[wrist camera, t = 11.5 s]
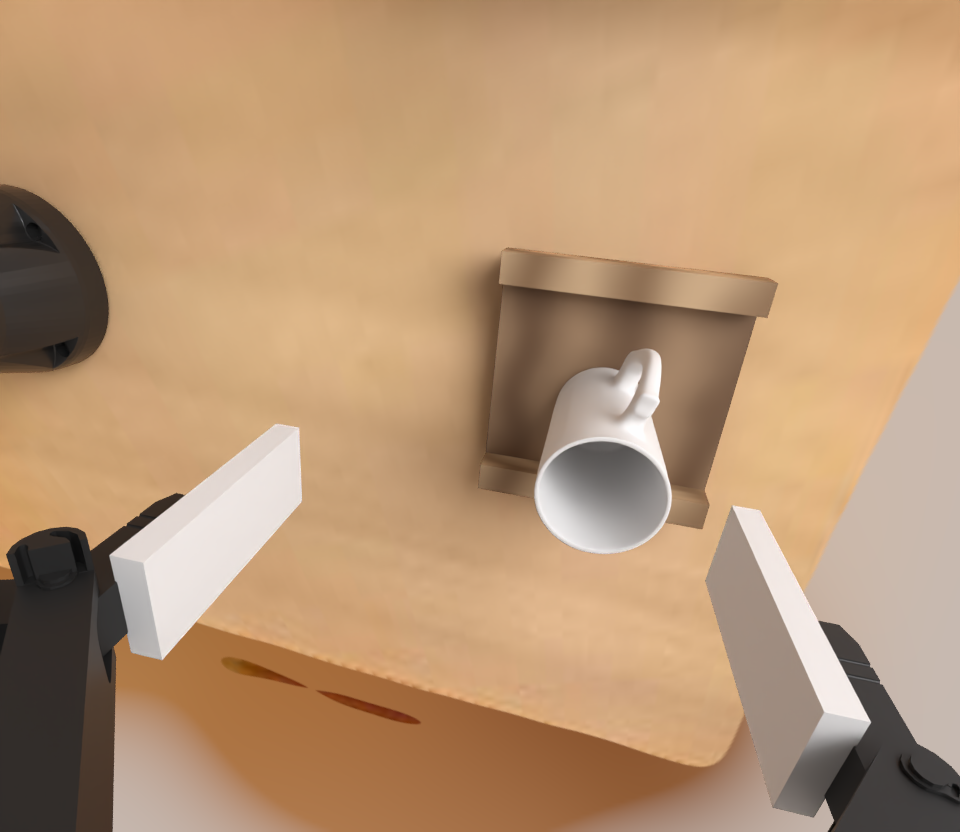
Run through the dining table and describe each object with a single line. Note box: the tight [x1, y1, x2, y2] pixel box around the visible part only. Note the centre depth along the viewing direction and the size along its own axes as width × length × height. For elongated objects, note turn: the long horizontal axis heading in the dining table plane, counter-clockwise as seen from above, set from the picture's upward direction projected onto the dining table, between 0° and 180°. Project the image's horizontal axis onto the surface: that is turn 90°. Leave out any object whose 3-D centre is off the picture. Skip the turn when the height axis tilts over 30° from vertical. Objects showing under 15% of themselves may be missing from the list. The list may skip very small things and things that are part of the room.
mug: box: [534, 349, 672, 554], centre depth 32 cm, size 10×7×12 cm, turn 159°
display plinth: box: [478, 248, 778, 529], centre depth 38 cm, size 16×17×4 cm
